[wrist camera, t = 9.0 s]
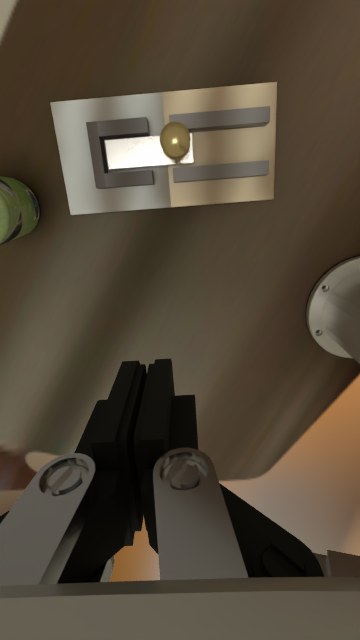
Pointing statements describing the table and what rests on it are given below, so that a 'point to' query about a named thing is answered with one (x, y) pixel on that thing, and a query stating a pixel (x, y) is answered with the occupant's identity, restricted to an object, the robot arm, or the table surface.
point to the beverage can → (16, 210)
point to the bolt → (152, 149)
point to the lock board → (148, 120)
